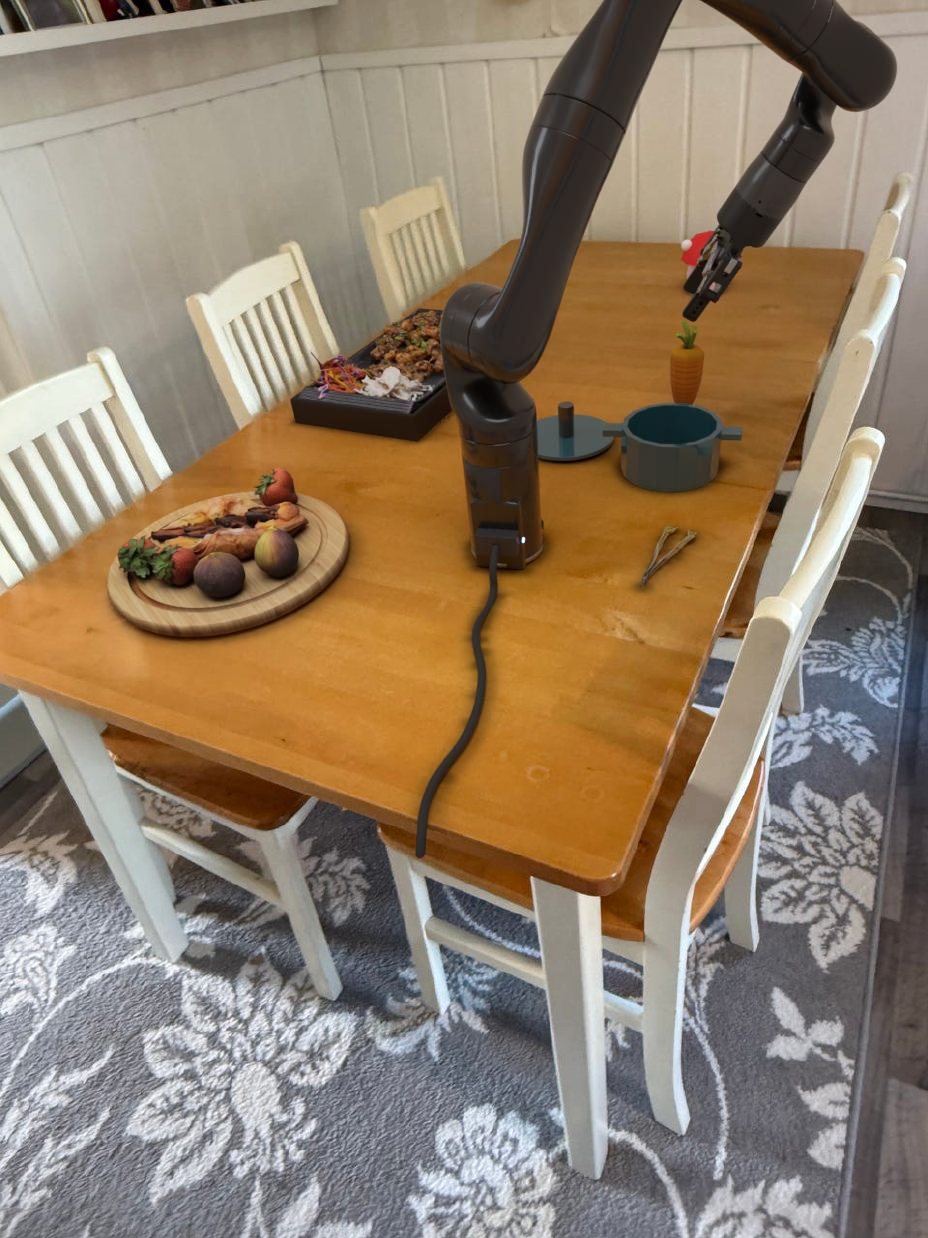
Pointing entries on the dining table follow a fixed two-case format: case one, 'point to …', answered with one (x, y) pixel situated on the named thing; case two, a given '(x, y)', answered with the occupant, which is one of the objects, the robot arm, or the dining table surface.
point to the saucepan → (671, 446)
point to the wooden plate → (229, 561)
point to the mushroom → (694, 251)
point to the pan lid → (570, 435)
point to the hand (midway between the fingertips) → (688, 304)
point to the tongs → (652, 568)
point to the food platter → (382, 384)
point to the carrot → (686, 367)
